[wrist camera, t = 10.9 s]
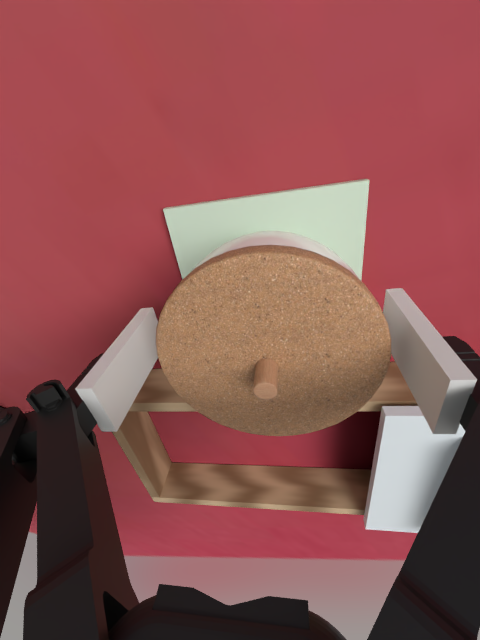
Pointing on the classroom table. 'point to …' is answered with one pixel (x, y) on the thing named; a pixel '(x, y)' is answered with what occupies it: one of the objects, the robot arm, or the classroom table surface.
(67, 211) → the classroom table surface
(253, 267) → the lidded jar
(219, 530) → the classroom table surface
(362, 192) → the mat
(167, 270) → the classroom table surface
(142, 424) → the wooden rectangular frame
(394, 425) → the lid
